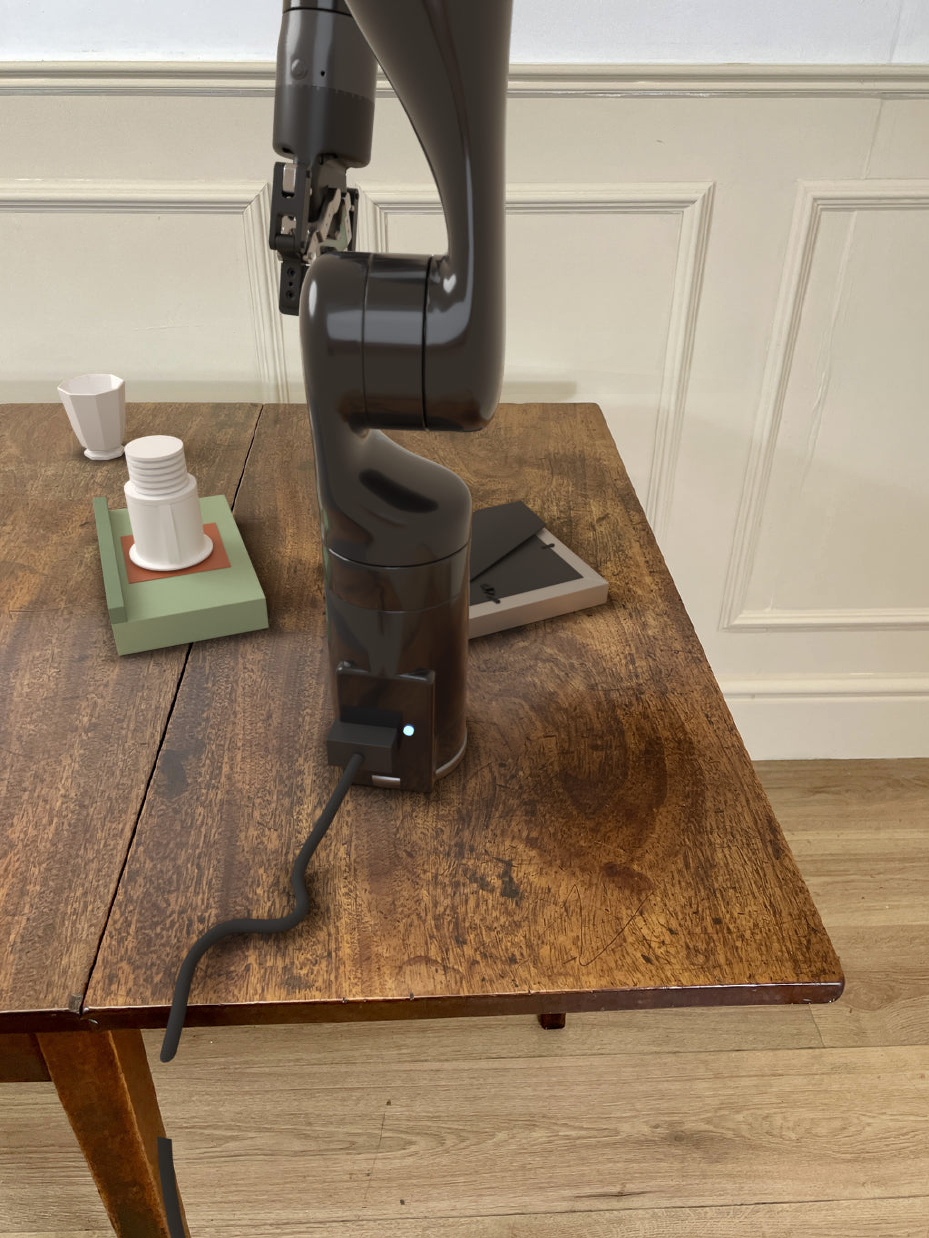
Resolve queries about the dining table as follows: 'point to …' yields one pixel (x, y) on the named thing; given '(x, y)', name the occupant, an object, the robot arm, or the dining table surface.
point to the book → (179, 585)
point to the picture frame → (524, 572)
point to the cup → (96, 413)
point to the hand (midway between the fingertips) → (311, 316)
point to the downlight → (163, 506)
